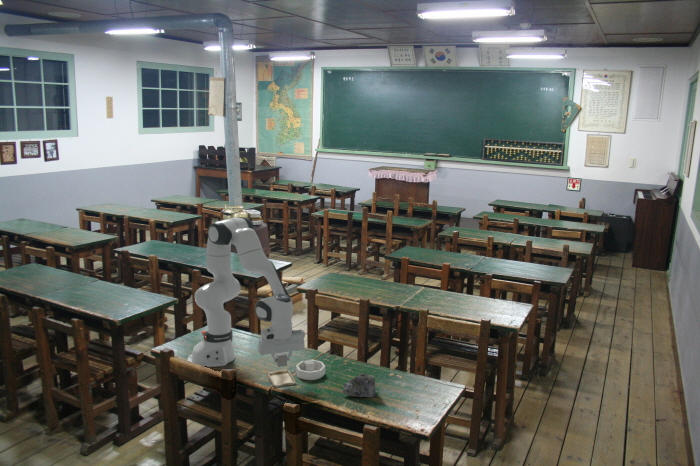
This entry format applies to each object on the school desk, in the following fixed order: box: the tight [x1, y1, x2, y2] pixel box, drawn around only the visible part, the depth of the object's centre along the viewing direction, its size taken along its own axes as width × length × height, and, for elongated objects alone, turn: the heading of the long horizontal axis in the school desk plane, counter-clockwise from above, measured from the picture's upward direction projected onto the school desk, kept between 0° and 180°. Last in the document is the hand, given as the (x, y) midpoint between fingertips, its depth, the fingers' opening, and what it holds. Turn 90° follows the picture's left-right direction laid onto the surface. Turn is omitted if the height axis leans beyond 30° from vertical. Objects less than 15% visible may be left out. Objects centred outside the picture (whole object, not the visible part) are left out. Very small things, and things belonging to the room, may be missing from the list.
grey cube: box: [303, 359, 315, 372], centre depth 253 cm, size 4×4×4 cm
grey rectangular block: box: [275, 352, 288, 368], centre depth 241 cm, size 4×4×4 cm
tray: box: [266, 369, 297, 388], centre depth 245 cm, size 10×13×2 cm
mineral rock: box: [342, 372, 376, 398], centre depth 233 cm, size 13×11×10 cm
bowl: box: [295, 359, 326, 381], centre depth 251 cm, size 12×12×4 cm
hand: (281, 360), depth 241 cm, fingers closed on grey rectangular block, 4 cm apart
